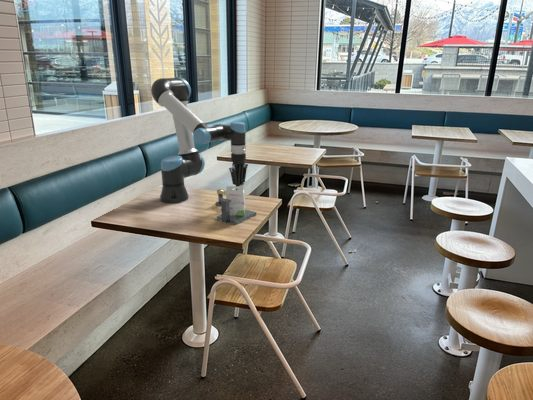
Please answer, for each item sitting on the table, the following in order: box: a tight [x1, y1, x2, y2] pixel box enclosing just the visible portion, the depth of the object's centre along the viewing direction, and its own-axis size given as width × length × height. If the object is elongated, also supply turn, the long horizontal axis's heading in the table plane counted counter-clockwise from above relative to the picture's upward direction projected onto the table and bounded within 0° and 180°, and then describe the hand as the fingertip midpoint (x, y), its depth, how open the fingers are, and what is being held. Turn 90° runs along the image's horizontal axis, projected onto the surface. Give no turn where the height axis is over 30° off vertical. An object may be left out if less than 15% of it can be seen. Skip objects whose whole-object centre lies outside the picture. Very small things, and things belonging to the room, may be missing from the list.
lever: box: [216, 188, 226, 196], centre depth 209 cm, size 17×4×3 cm, turn 55°
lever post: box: [214, 194, 224, 207], centre depth 214 cm, size 6×6×6 cm
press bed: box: [216, 197, 257, 225], centre depth 195 cm, size 12×18×11 cm
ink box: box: [225, 185, 246, 216], centre depth 195 cm, size 9×5×15 cm, turn 84°
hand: (239, 196), depth 214 cm, fingers closed
